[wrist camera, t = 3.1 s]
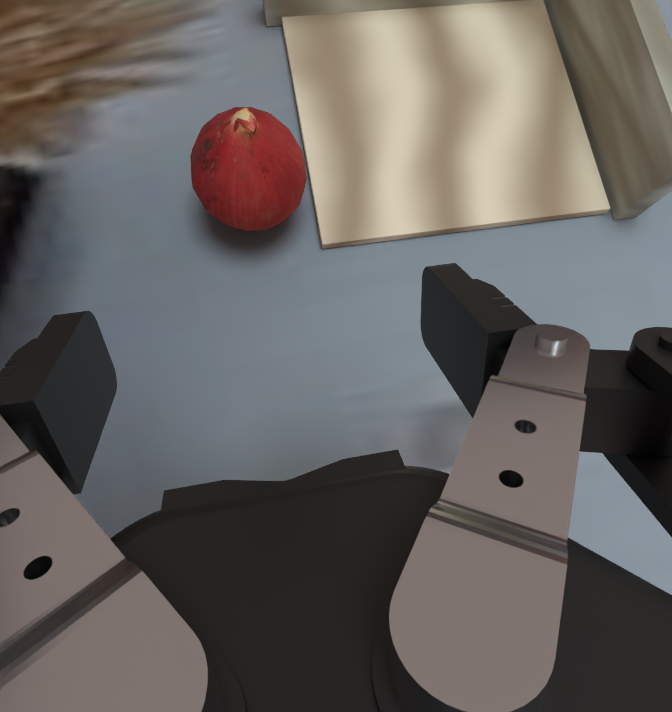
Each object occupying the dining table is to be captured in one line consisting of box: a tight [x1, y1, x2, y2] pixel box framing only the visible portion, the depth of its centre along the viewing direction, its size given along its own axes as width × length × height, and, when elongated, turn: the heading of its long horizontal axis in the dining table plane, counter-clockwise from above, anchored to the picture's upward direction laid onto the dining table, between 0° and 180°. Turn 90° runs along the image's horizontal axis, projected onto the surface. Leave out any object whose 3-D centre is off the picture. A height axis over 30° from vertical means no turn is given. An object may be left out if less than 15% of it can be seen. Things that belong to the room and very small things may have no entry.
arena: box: [263, 0, 672, 249], centre depth 28 cm, size 21×18×6 cm
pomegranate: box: [191, 107, 306, 231], centre depth 25 cm, size 6×6×8 cm
